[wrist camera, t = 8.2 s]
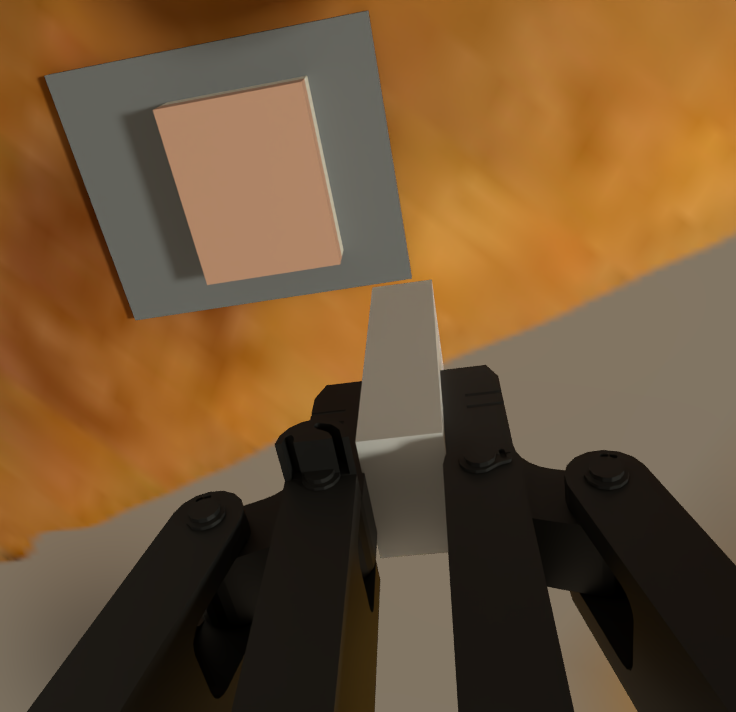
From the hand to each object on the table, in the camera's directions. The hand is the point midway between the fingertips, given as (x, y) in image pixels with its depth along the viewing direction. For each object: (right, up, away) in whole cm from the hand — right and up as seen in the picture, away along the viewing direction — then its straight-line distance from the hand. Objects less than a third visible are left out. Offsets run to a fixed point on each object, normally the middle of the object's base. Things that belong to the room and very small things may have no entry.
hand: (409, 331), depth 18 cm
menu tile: (-3, +10, +21) cm, 23 cm away
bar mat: (-9, +10, +23) cm, 27 cm away
